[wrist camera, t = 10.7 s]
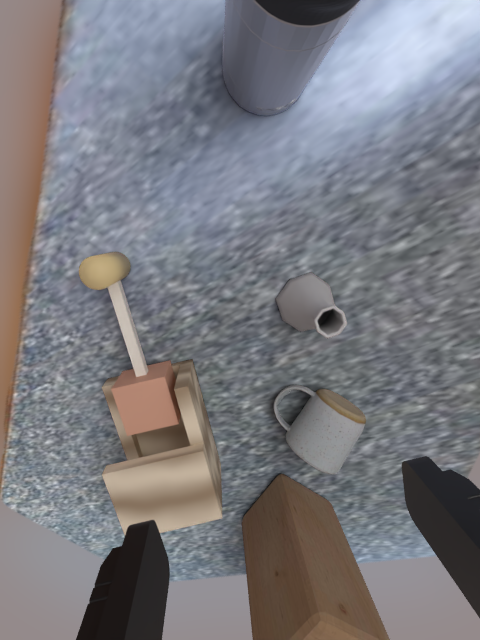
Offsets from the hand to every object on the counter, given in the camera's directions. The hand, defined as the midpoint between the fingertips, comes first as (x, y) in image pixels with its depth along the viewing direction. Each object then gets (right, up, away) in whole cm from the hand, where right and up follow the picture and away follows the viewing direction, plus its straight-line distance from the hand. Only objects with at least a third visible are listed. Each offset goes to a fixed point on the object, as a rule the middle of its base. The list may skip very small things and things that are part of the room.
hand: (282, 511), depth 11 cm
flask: (+7, +8, +33) cm, 35 cm away
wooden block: (+5, -22, +40) cm, 46 cm away
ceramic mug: (+8, -6, +37) cm, 38 cm away
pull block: (-14, +4, +31) cm, 34 cm away
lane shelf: (-11, -8, +35) cm, 38 cm away
